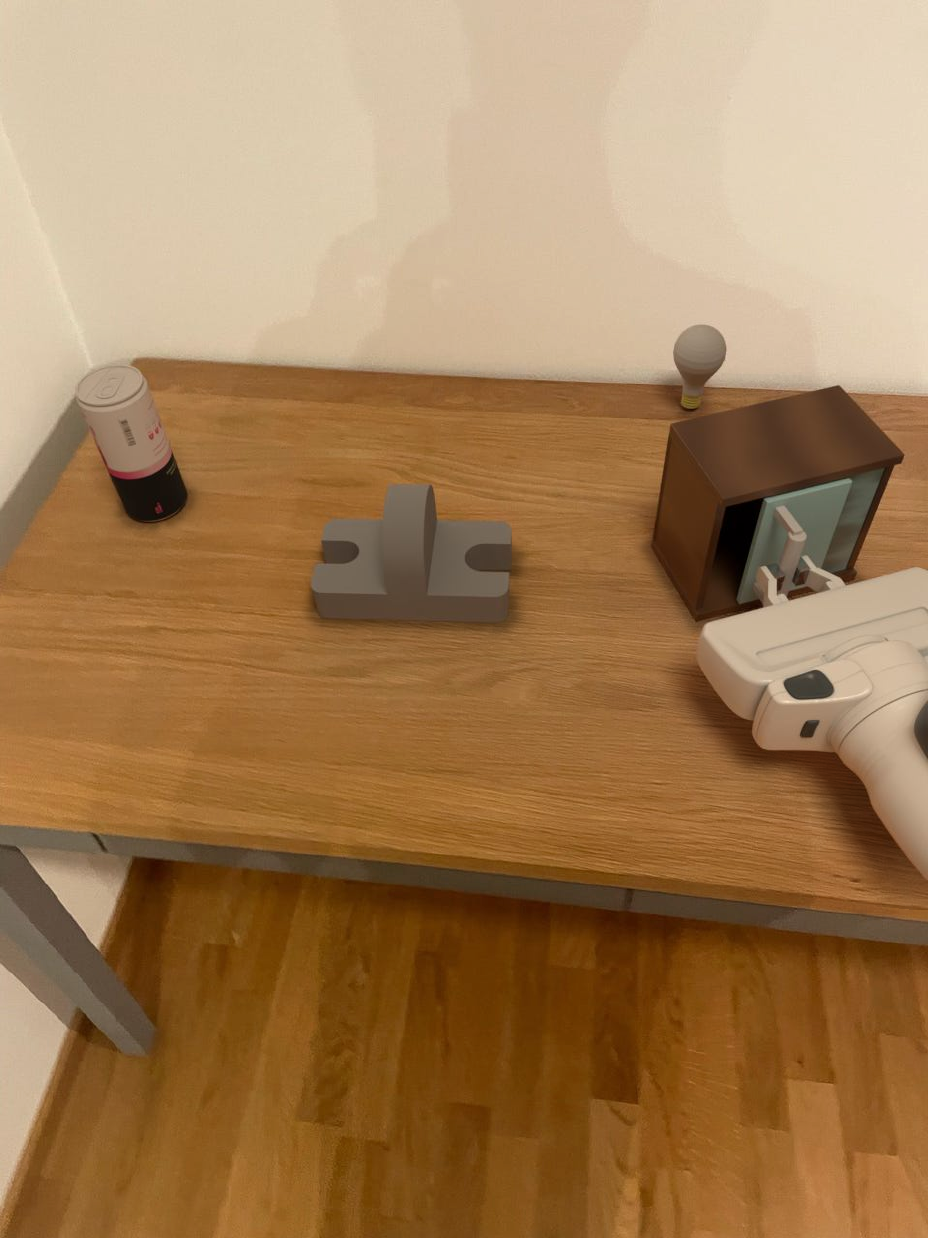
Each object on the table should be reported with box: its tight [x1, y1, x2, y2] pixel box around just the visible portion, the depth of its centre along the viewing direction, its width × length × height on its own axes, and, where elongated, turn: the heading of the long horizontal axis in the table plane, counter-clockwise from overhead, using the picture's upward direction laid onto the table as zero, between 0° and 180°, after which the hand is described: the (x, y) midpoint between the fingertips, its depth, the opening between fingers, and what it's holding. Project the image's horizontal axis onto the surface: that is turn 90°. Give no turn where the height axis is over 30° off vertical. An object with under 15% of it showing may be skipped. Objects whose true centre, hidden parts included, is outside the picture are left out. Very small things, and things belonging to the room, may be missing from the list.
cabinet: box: [650, 384, 906, 622], centre depth 82 cm, size 16×10×15 cm, turn 106°
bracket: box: [310, 483, 513, 624], centre depth 84 cm, size 10×18×11 cm, turn 86°
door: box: [736, 477, 852, 605], centre depth 78 cm, size 8×4×12 cm, turn 106°
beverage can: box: [74, 363, 188, 523], centre depth 92 cm, size 6×7×15 cm
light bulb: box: [672, 324, 728, 410], centre depth 100 cm, size 6×6×10 cm
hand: (779, 566), depth 77 cm, fingers closed on door
